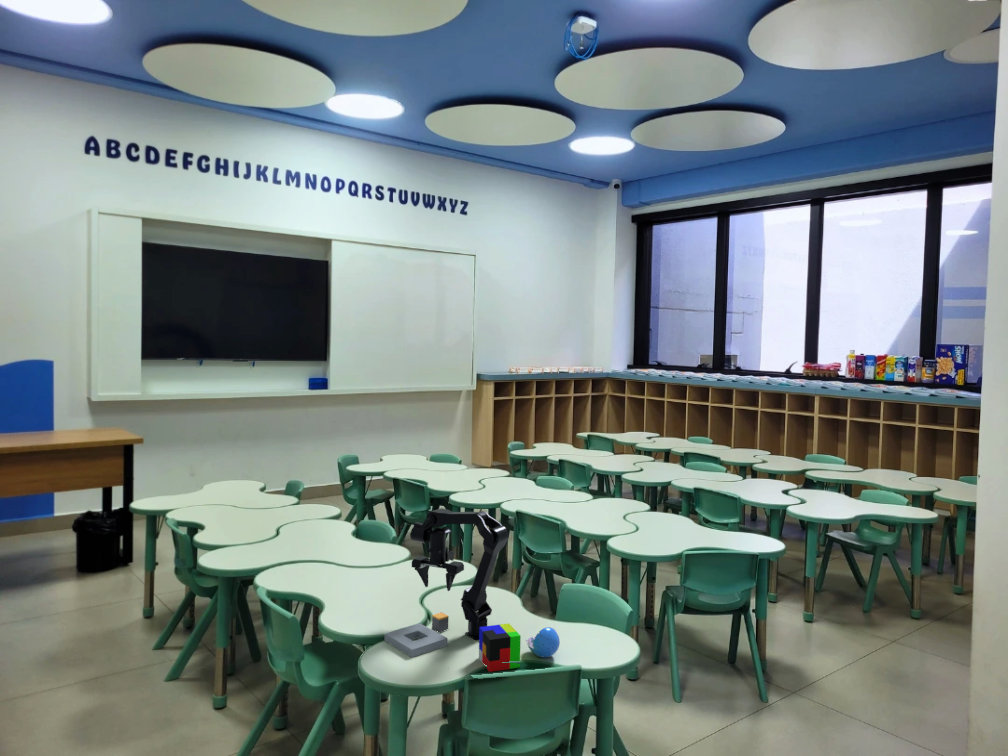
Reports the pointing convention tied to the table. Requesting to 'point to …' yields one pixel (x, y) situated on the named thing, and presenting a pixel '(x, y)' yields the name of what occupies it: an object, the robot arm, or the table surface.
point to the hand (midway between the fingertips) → (437, 588)
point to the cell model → (544, 642)
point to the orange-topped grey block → (439, 622)
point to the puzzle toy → (499, 646)
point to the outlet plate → (425, 644)
